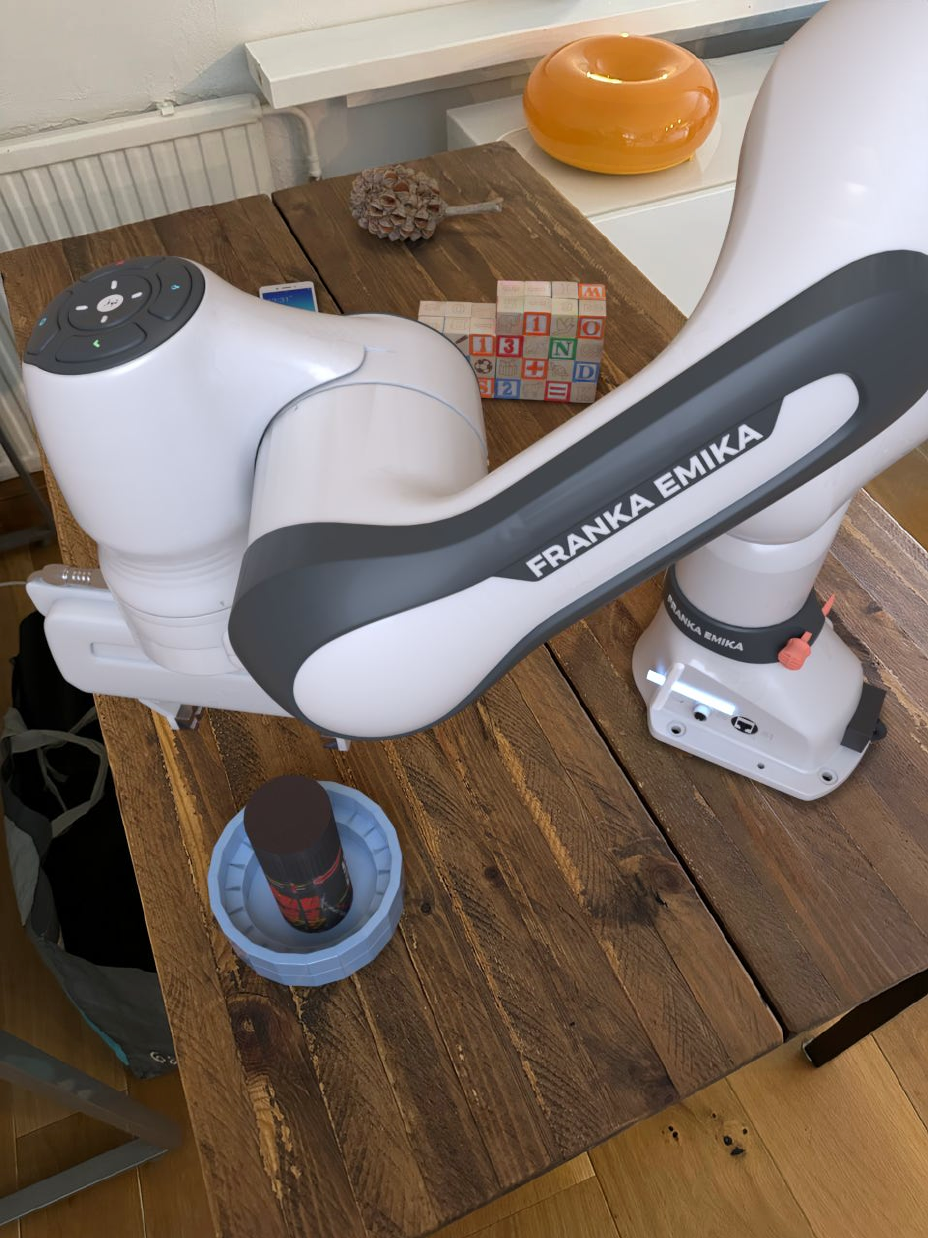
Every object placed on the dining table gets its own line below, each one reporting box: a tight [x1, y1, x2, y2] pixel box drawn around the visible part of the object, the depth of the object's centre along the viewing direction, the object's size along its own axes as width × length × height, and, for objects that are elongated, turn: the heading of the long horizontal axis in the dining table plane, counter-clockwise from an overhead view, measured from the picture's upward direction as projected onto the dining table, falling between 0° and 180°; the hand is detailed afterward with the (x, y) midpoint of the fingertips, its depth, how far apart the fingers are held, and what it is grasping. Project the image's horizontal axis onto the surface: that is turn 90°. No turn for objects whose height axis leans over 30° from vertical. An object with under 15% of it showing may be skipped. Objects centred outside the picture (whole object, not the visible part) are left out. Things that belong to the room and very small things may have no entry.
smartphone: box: [258, 280, 319, 312], centre depth 123 cm, size 8×1×15 cm
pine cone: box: [348, 163, 508, 242], centre depth 132 cm, size 22×10×10 cm, turn 94°
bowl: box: [206, 780, 407, 987], centre depth 74 cm, size 15×15×6 cm
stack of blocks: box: [417, 279, 607, 404], centre depth 111 cm, size 21×6×12 cm, turn 86°
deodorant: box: [243, 773, 353, 934], centre depth 70 cm, size 6×6×15 cm
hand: (263, 730), depth 58 cm, fingers open, 8 cm apart
